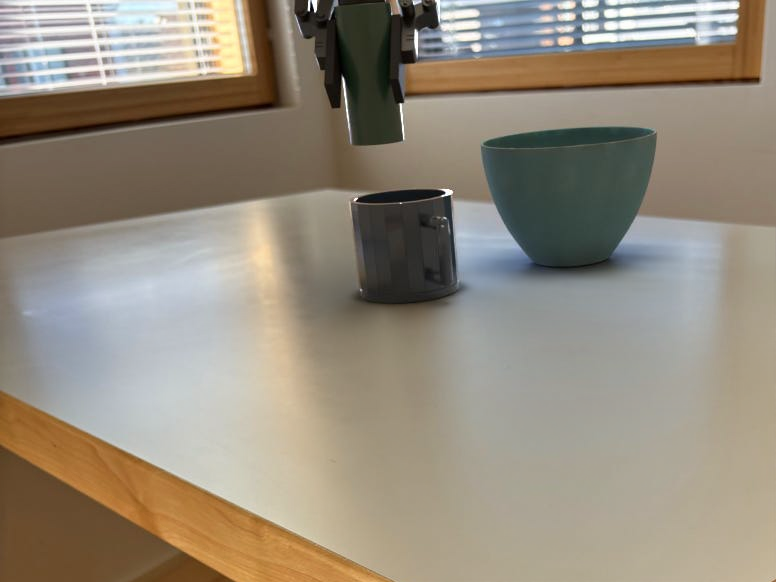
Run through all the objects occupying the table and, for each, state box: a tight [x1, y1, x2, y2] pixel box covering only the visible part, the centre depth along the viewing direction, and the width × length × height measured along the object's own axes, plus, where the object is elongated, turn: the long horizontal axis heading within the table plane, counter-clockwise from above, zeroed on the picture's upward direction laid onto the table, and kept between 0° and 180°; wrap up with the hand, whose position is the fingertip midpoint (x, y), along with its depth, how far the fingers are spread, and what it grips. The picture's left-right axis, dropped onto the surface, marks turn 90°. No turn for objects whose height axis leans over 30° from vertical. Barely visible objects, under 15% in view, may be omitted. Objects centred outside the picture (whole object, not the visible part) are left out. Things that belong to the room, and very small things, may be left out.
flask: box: [334, 0, 405, 147], centre depth 88 cm, size 5×5×13 cm
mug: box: [348, 187, 460, 304], centre depth 101 cm, size 14×10×9 cm
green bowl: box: [479, 125, 658, 268], centre depth 110 cm, size 18×18×12 cm
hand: (364, 93), depth 86 cm, fingers closed on flask, 5 cm apart
